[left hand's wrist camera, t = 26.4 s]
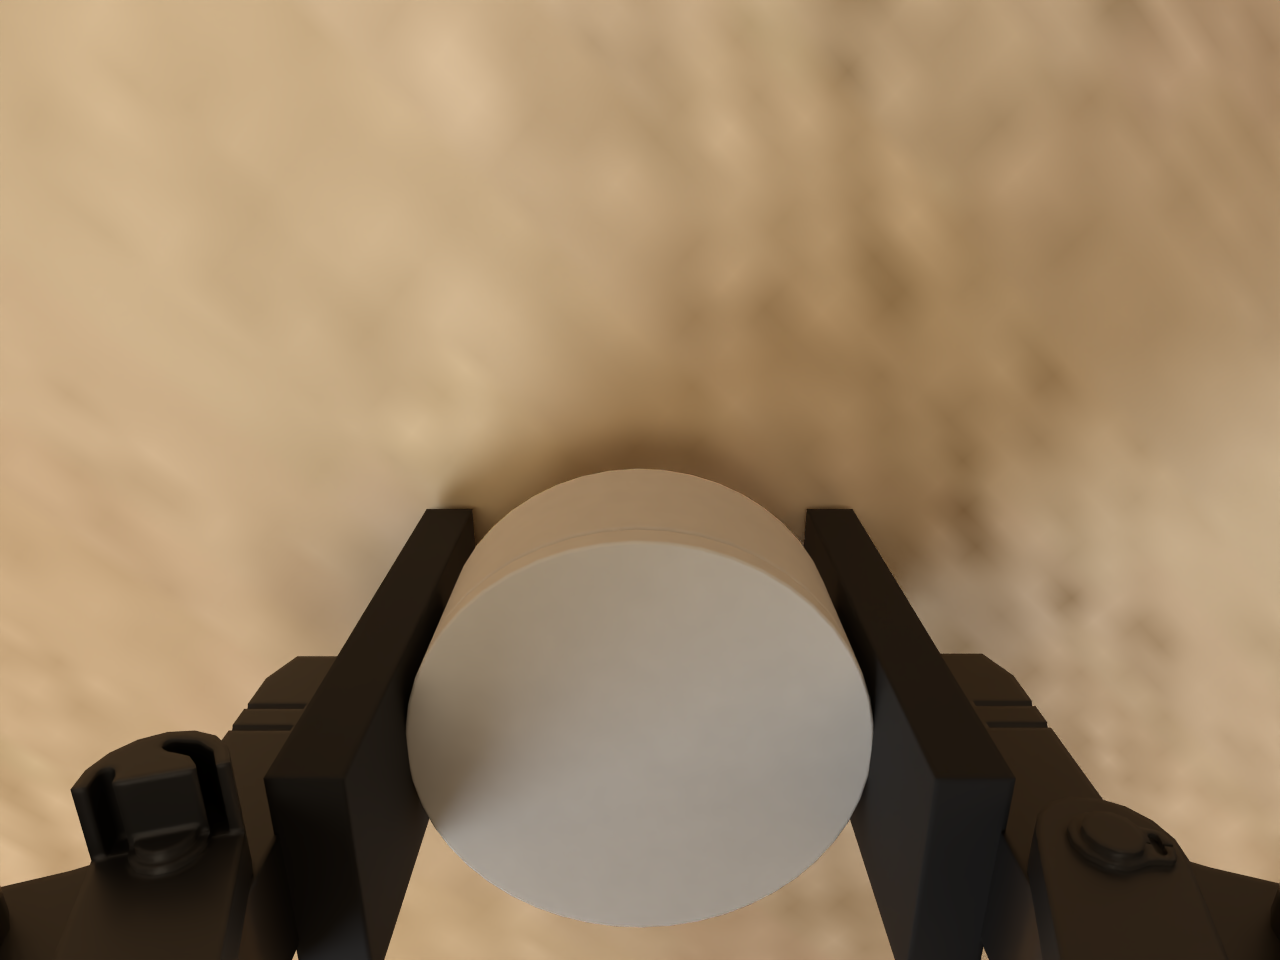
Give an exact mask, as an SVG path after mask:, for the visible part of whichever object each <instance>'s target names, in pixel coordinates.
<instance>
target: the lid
mask: <svg viewBox="0 0 1280 960" xmlns="http://www.w3.org/2000/svg"><path fill="white" fill-rule="evenodd" d="M873 727H874V721H873V714H872V707H871V700H870V696H869V693H868V689H867V686H866V683H865V680H864V676H863V673H862V671H861V668H860V666H859V664H858V661H857V659H856V657H855V655H854V652H853V650H852V647H851V645H850V643H849V640H848V638H847V636H846V633H845V631H844V629H843V626H842V624H841V622H840V619H839V617H838V615H837V612H836V610H835V608H834V605H833V603H832V601H831V599H830V596H829V594H828V592H827V589H826V587H825V585H824V582H823V580H822V578H821V576H820V574H819V572H818V570H817V568H816V566H815V564H814V562H813V560H812V559H811V557H810V556H809V554H808V553H807V551H806V550H805V548H804V547H803V545H802V544H801V543H800V541H799V540H798V539H797V538H796V537H795V536H794V535H793V534H792V532H791V531H790V530H789V529H788V528H787V527H786V526H785V525H784V524H783V523H782V522H781V521H780V520H779V519H777V518H776V517H775V516H774V515H772V514H771V513H770V512H769V511H768V510H766V509H765V508H764V507H763V506H761V505H759V504H758V503H756V502H754V501H753V500H751V499H750V498H748V497H746V496H745V495H743V494H741V493H739V492H737V491H735V490H733V489H730V488H728V487H726V486H724V485H721V484H719V483H717V482H714V481H711V480H707V479H704V478H701V477H697V476H694V475H691V474H685V473H679V472H673V471H667V470H656V469H625V470H612V471H605V472H600V473H595V474H590V475H585V476H581V477H578V478H575V479H572V480H569V481H566V482H563V483H560V484H557V485H555V486H553V487H551V488H549V489H547V490H545V491H543V492H541V493H539V494H537V495H535V496H533V497H531V498H530V499H528V500H527V501H525V502H524V503H522V504H521V505H519V506H518V507H516V508H515V509H513V510H512V511H510V512H509V513H508V514H507V515H506V516H505V517H504V518H502V519H501V520H500V521H499V522H498V523H497V524H496V525H494V526H493V527H492V528H491V529H490V531H489V532H488V533H487V534H486V535H485V536H484V538H483V539H482V540H481V541H480V542H479V543H478V545H477V546H476V547H475V549H474V550H473V552H472V554H471V555H470V557H469V558H468V560H467V561H466V563H465V565H464V566H463V569H462V571H461V573H460V575H459V578H458V580H457V582H456V584H455V587H454V589H453V591H452V594H451V596H450V598H449V601H448V603H447V605H446V607H445V610H444V612H443V614H442V617H441V619H440V621H439V624H438V626H437V628H436V631H435V633H434V635H433V638H432V640H431V642H430V645H429V647H428V649H427V651H426V654H425V656H424V658H423V661H422V663H421V665H420V668H419V670H418V672H417V675H416V677H415V680H414V683H413V687H412V691H411V695H410V698H409V702H408V709H407V719H406V738H407V747H408V757H409V764H410V771H411V776H412V780H413V783H414V786H415V788H416V791H417V793H418V796H419V799H420V801H421V804H422V806H423V808H424V809H425V811H426V813H427V815H428V817H429V818H430V820H431V822H432V824H433V825H434V827H435V828H436V830H437V831H438V832H439V834H440V835H441V836H442V838H443V839H444V840H445V841H446V843H447V844H448V845H449V847H450V848H451V849H452V850H453V851H454V852H455V853H456V854H457V855H458V856H459V857H460V858H461V859H462V860H463V861H464V862H465V863H466V864H467V865H468V866H469V867H471V868H472V869H473V870H474V871H476V872H477V873H478V874H479V875H481V876H482V877H483V878H485V879H486V880H487V881H488V882H490V883H492V884H493V885H495V886H496V887H498V888H500V889H501V890H503V891H504V892H506V893H508V894H509V895H511V896H513V897H515V898H517V899H519V900H521V901H524V902H526V903H528V904H530V905H532V906H534V907H536V908H539V909H542V910H545V911H548V912H551V913H554V914H556V915H559V916H563V917H567V918H571V919H575V920H579V921H583V922H588V923H595V924H602V925H609V926H620V927H657V926H672V925H678V924H684V923H691V922H697V921H701V920H705V919H709V918H712V917H716V916H720V915H724V914H727V913H729V912H732V911H735V910H737V909H740V908H742V907H745V906H748V905H750V904H752V903H754V902H756V901H758V900H760V899H762V898H764V897H766V896H768V895H770V894H772V893H774V892H776V891H777V890H779V889H780V888H782V887H783V886H785V885H786V884H788V883H789V882H791V881H792V880H794V879H795V878H797V877H798V876H799V875H800V874H802V873H803V872H804V871H805V870H806V869H807V868H809V867H810V866H811V865H812V864H813V863H815V862H816V861H817V860H818V859H819V858H820V857H821V856H822V854H823V853H824V852H825V851H826V850H827V849H828V848H829V847H830V846H831V845H832V844H833V843H834V841H835V840H836V839H837V837H838V836H839V834H840V833H841V831H842V830H843V829H844V827H845V826H846V824H847V823H848V822H849V820H850V818H851V816H852V814H853V812H854V810H855V808H856V806H857V804H858V802H859V800H860V798H861V795H862V792H863V789H864V787H865V784H866V781H867V778H868V774H869V766H870V758H871V750H872V740H873Z"/></svg>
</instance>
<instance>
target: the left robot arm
mask: <svg viewBox="0 0 1280 960" xmlns="http://www.w3.org/2000/svg"><path fill="white" fill-rule="evenodd" d="M804 548H805V550H806V551H807V553H808V554H809V556H810V557H811V559H812V560H813V562H814V564H815V566H816V568H817V570H818V572H819V574H820V576H821V578H822V580H823V582H824V585H825V587H826V589H827V592H828V594H829V596H830V599H831V601H832V603H833V605H834V608H835V610H836V612H837V615H838V617H839V619H840V622H841V624H842V626H843V629H844V631H845V633H846V636H847V638H848V640H849V643H850V645H851V647H852V650H853V652H854V655H855V657H856V659H857V661H858V664H859V666H860V668H861V671H862V673H863V676H864V680H865V683H866V686H867V689H868V693H869V696H870V700H871V707H872V714H873V721H874V727H873V740H872V750H871V758H870V766H869V774H868V778H867V781H866V784H865V787H864V789H863V792H862V795H861V798H860V800H859V802H858V804H857V806H856V808H855V810H854V812H853V814H852V816H851V818H850V820H851V824H852V827H853V830H854V833H855V836H856V839H857V842H858V845H859V849H860V852H861V855H862V858H863V861H864V864H865V867H866V870H867V874H868V877H869V880H870V883H871V886H872V889H873V892H874V896H875V899H876V902H877V905H878V908H879V911H880V914H881V917H882V921H883V924H884V927H885V930H886V933H887V936H888V939H889V942H890V946H891V949H892V952H893V955H894V958H895V960H981V956H982V951H983V947H984V949H985V951H986V954H987V956H988V958H989V960H1280V884H1279V883H1275V882H1270V881H1266V880H1262V879H1257V878H1253V877H1249V876H1244V875H1240V874H1236V873H1231V872H1227V871H1223V870H1218V869H1214V868H1210V867H1206V866H1203V865H1200V864H1196V863H1193V862H1190V861H1189V860H1188V858H1187V857H1186V855H1185V854H1184V852H1183V851H1182V849H1181V848H1180V846H1179V845H1178V843H1177V842H1176V840H1175V839H1174V838H1173V837H1172V836H1170V835H1169V834H1168V833H1167V832H1166V831H1164V830H1163V829H1162V828H1161V827H1160V826H1158V825H1157V824H1156V823H1155V822H1154V821H1152V820H1150V819H1148V818H1147V817H1145V816H1143V815H1141V814H1139V813H1137V812H1135V811H1133V810H1131V809H1129V808H1127V807H1125V806H1122V805H1119V804H1115V803H1112V802H1108V801H1105V800H1103V799H1102V798H1101V796H1100V795H1099V793H1098V792H1097V791H1096V789H1095V788H1094V787H1093V785H1092V784H1091V782H1090V781H1089V780H1088V778H1087V777H1086V775H1085V774H1084V773H1083V771H1082V770H1081V769H1080V767H1079V766H1078V764H1077V763H1076V762H1075V760H1074V759H1073V758H1072V756H1071V755H1070V753H1069V752H1068V751H1067V749H1066V748H1065V746H1064V745H1063V744H1062V742H1061V741H1060V740H1059V738H1058V737H1057V735H1056V734H1055V733H1054V731H1053V730H1052V728H1048V727H1047V722H1046V720H1045V719H1044V717H1043V716H1042V715H1041V713H1040V712H1039V710H1038V709H1037V708H1036V706H1032V701H1031V699H1030V698H1029V697H1028V695H1027V694H1026V692H1025V691H1024V690H1023V688H1022V687H1021V686H1020V684H1019V683H1018V681H1017V680H1016V679H1015V677H1014V676H1013V675H1012V674H1010V673H1009V672H1007V671H1006V670H1005V669H1003V668H1002V667H1000V666H999V665H997V664H996V663H995V662H993V661H992V660H990V659H989V658H988V657H986V656H985V655H983V654H940V653H939V651H938V649H937V648H936V646H935V644H934V643H933V641H932V639H931V638H930V636H929V635H928V633H927V631H926V630H925V628H924V626H923V625H922V623H921V621H920V620H919V618H918V616H917V615H916V613H915V611H914V610H913V608H912V607H911V605H910V603H909V602H908V600H907V598H906V597H905V595H904V593H903V592H902V590H901V588H900V587H899V585H898V583H897V582H896V580H895V579H894V577H893V575H892V574H891V572H890V570H889V569H888V567H887V565H886V564H885V562H884V560H883V559H882V557H881V555H880V554H879V552H878V551H877V549H876V547H875V546H874V544H873V542H872V541H871V539H870V537H869V536H868V534H867V532H866V531H865V529H864V527H863V526H862V524H861V523H860V521H859V519H858V518H857V516H856V514H855V513H854V511H853V509H807V515H806V528H805V541H804ZM474 549H475V539H474V526H473V513H472V509H427V510H426V511H425V513H424V514H423V516H422V518H421V519H420V521H419V523H418V524H417V526H416V528H415V529H414V531H413V533H412V534H411V536H410V538H409V539H408V541H407V542H406V544H405V546H404V547H403V549H402V551H401V552H400V554H399V556H398V557H397V559H396V561H395V562H394V564H393V566H392V567H391V569H390V570H389V572H388V574H387V575H386V577H385V579H384V580H383V582H382V584H381V585H380V587H379V589H378V590H377V592H376V594H375V595H374V597H373V598H372V600H371V602H370V603H369V605H368V607H367V608H366V610H365V612H364V613H363V615H362V617H361V618H360V620H359V622H358V623H357V625H356V626H355V628H354V630H353V631H352V633H351V635H350V636H349V638H348V640H347V641H346V643H345V645H344V646H343V648H342V650H341V651H340V653H339V654H338V656H297V657H296V658H294V659H293V660H292V661H290V662H289V663H287V664H286V665H285V666H283V667H282V668H280V669H279V670H277V671H276V672H275V673H273V674H272V675H270V676H269V677H268V678H266V679H265V681H264V682H263V684H262V685H261V686H260V688H259V689H258V691H257V692H256V693H255V695H254V696H253V698H252V699H251V700H250V702H249V703H248V709H244V710H243V712H242V713H241V714H240V716H239V717H238V718H237V720H236V721H235V723H234V724H233V729H232V731H228V732H227V734H226V735H225V737H224V738H223V739H222V741H221V740H220V739H219V738H218V737H217V736H215V735H211V734H207V733H203V732H198V731H179V732H166V733H162V734H158V735H154V736H151V737H147V738H143V739H139V740H136V741H134V742H132V743H130V744H128V745H126V746H123V747H121V748H119V749H117V750H115V751H113V752H110V753H109V754H107V755H106V756H104V757H103V758H102V759H100V760H99V761H98V762H96V763H95V764H93V765H92V766H91V767H89V768H88V769H87V770H85V772H84V773H83V774H82V775H81V777H80V778H79V779H78V781H77V782H76V783H75V784H74V786H73V787H72V788H71V793H72V796H73V800H74V803H75V807H76V810H77V813H78V817H79V820H80V824H81V827H82V830H83V834H84V837H85V840H86V844H87V847H88V851H89V854H90V857H91V863H90V865H89V866H85V867H82V868H79V869H75V870H72V871H68V872H64V873H60V874H55V875H51V876H47V877H42V878H38V879H34V880H29V881H25V882H21V883H17V884H12V885H8V886H4V887H0V960H292V958H293V956H294V954H295V952H296V950H297V955H298V960H384V959H385V956H386V952H387V949H388V946H389V943H390V940H391V937H392V934H393V931H394V927H395V924H396V921H397V918H398V915H399V912H400V909H401V906H402V902H403V899H404V896H405V893H406V890H407V887H408V884H409V880H410V877H411V874H412V871H413V868H414V865H415V862H416V859H417V855H418V852H419V849H420V846H421V843H422V840H423V837H424V834H425V830H426V827H427V824H428V821H429V817H428V815H427V813H426V811H425V809H424V808H423V806H422V804H421V801H420V799H419V796H418V793H417V791H416V788H415V786H414V783H413V780H412V776H411V771H410V764H409V757H408V747H407V738H406V719H407V709H408V702H409V698H410V695H411V691H412V687H413V683H414V680H415V677H416V675H417V672H418V670H419V668H420V665H421V663H422V661H423V658H424V656H425V654H426V651H427V649H428V647H429V645H430V642H431V640H432V638H433V635H434V633H435V631H436V628H437V626H438V624H439V621H440V619H441V617H442V614H443V612H444V610H445V607H446V605H447V603H448V601H449V598H450V596H451V594H452V591H453V589H454V587H455V584H456V582H457V580H458V578H459V575H460V573H461V571H462V569H463V566H464V565H465V563H466V561H467V560H468V558H469V557H470V555H471V554H472V552H473V550H474Z"/></svg>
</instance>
